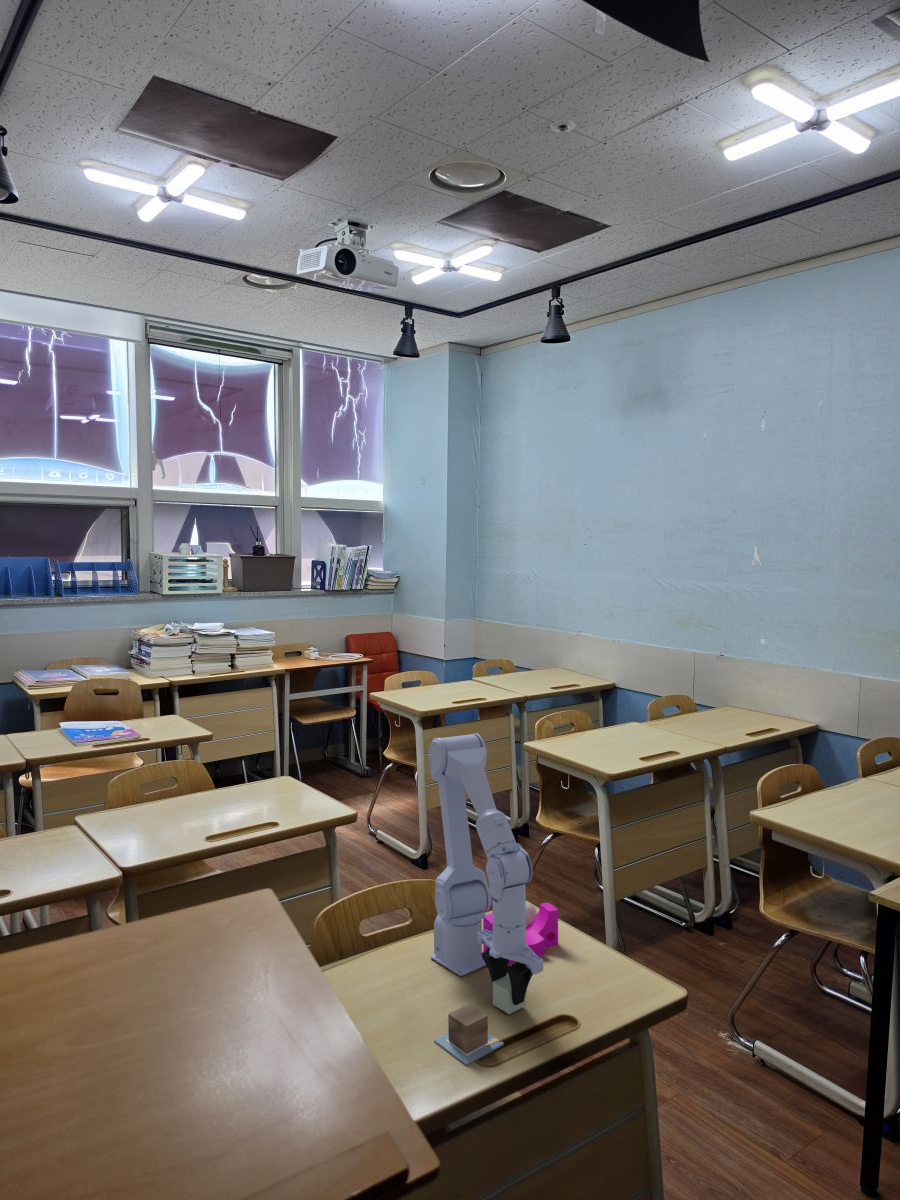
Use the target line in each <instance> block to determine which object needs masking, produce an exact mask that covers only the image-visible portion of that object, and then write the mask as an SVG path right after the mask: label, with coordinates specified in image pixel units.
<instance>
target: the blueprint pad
mask: <svg viewBox="0 0 900 1200" xmlns="http://www.w3.org/2000/svg"><path fill="white" fill-rule="evenodd" d="M493 1036H494V1035H492V1034H491V1033H490V1032H488V1043H486V1044H489V1041H491V1040H490V1039H492V1038H496V1037H495V1036H494V1037H493ZM433 1042H434V1043H435V1044H436V1045H438V1046H439V1047H440V1048H442V1049H443V1050H444V1051H446V1052H448V1053H449V1054H450V1055H452V1056H453V1057H454V1058H456V1060H458V1061H459V1062H461V1063H462V1064H463V1065H464V1066H469V1065H470V1064H472V1063H474V1062H475V1061H477V1060H479V1059H481V1058H483V1057H485V1056H486V1055H488V1054H490V1053H492V1052H494V1051H495V1050H498V1049H500V1048H501V1047H503V1046H505V1043H504V1041H501V1042H497V1043H495V1044H492V1045H490V1044H489V1045H486V1044H484V1045H483V1046H481V1047H479V1048H477V1049H475V1050H473V1051H471V1052H470V1053H468V1054H466V1053H465V1052H463V1051H462V1050H461V1049H459V1048H458V1047H456V1046H455V1045H454V1044H452V1043H451V1042H450V1041H449V1033H448V1032H447V1033H445V1034H442V1035H441V1036H439V1037H436V1038H435V1039H433Z"/></svg>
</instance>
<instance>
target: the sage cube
mask: <svg viewBox="0 0 900 1200" xmlns="http://www.w3.org/2000/svg"><path fill="white" fill-rule="evenodd" d="M526 994H527V993H526ZM526 994H525V998H524V1002H522V1003H520V1004H518V1005H514V1004H513V1001H512V992H511V983H510V978H509V975H508V974H507V976H505V977H502V978H500V979H498V980H496V981H494V982H493V983H492V1004H493V1006H495V1007H496V1008H498V1009H500V1010H502V1011H503V1012H504V1013H506V1014H508V1015H510V1014H512V1013H515V1012H517V1011H518V1010H520V1009H522V1008H523V1007H526V1001H527V1000H526V999H527V997H526Z"/></svg>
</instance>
